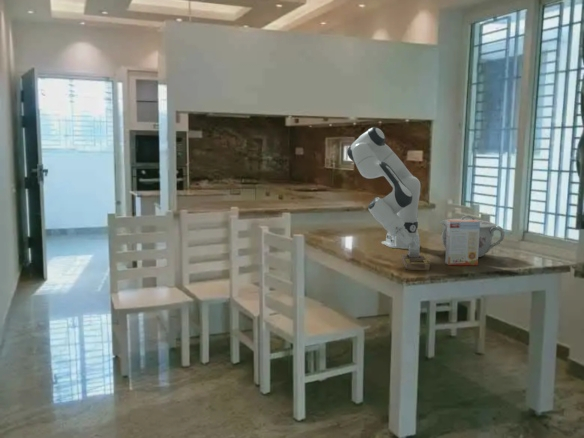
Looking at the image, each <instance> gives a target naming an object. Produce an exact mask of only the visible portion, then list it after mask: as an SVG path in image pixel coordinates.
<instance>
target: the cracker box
mask: <svg viewBox="0 0 584 438" xmlns="http://www.w3.org/2000/svg"><path fill="white" fill-rule="evenodd" d="M446 220H447V219H446ZM477 220H478V219H477ZM477 220H447V231H446V248H445V260H444V263H445V264H446V265H448V266H478V265H479V257H478V249H479V230H480V222H479V221H477Z"/></svg>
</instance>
